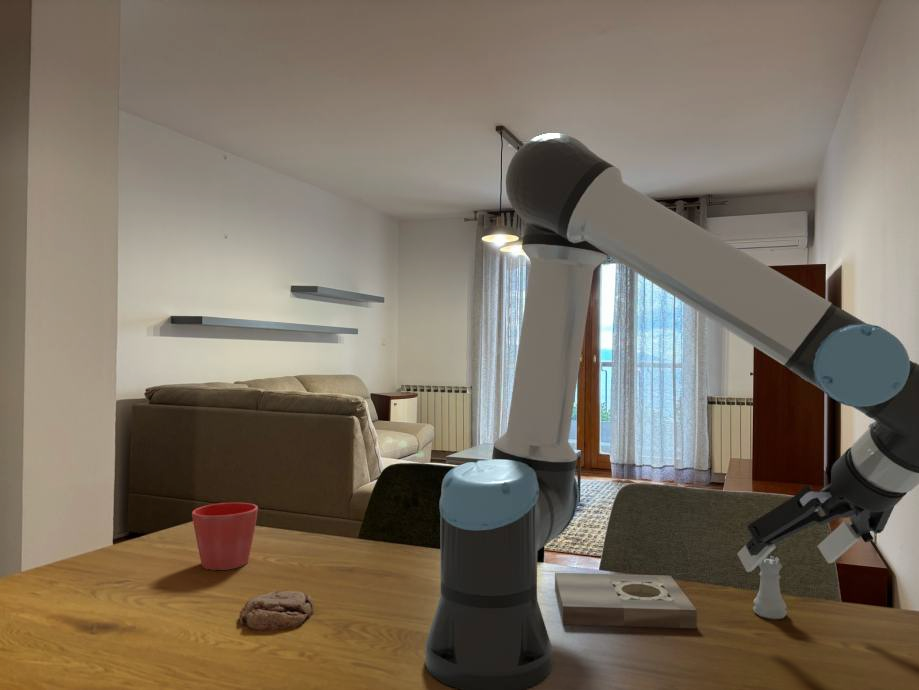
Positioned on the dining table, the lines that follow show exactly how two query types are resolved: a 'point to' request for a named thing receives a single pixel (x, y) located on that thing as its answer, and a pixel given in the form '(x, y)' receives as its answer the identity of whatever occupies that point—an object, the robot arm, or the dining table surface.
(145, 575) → the dining table surface
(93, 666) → the dining table surface
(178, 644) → the dining table surface
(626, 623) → the socket board
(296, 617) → the cookie
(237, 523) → the flower pot
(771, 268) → the robot arm
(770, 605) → the rook chess piece
